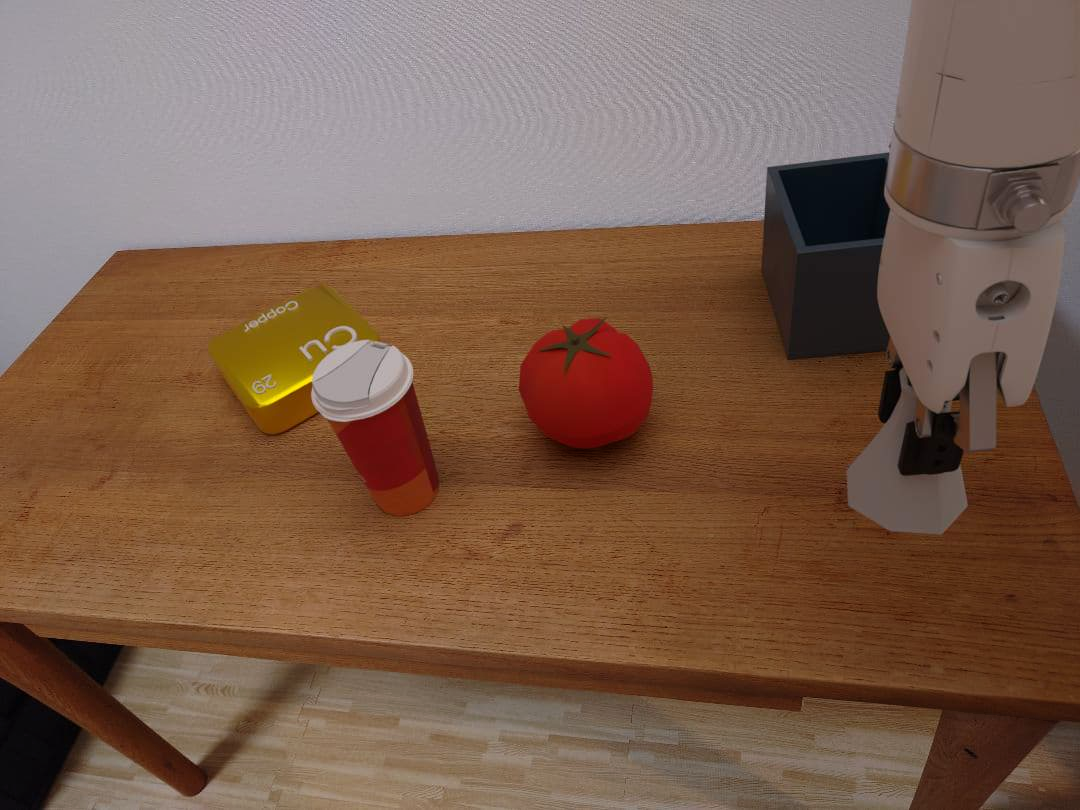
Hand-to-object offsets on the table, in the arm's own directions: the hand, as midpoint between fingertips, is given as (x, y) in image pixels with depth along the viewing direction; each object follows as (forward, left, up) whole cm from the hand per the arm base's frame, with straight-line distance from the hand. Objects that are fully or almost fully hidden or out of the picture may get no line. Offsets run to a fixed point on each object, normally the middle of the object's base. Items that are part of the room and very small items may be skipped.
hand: (916, 441), depth 48 cm
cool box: (-4, -33, -17) cm, 37 cm away
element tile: (+52, -31, -17) cm, 63 cm away
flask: (0, 0, -5) cm, 5 cm away
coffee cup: (+38, -13, -17) cm, 43 cm away
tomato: (+21, -19, -17) cm, 33 cm away
